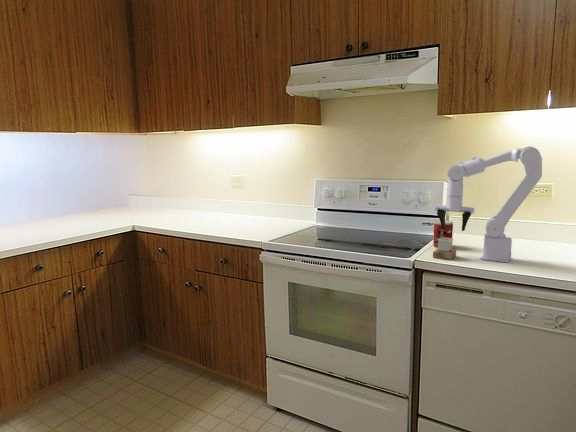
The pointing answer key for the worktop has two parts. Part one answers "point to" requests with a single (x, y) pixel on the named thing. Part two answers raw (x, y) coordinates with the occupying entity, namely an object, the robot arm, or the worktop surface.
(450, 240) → the tea tin
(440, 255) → the walnut block
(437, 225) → the canned food
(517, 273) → the worktop surface
